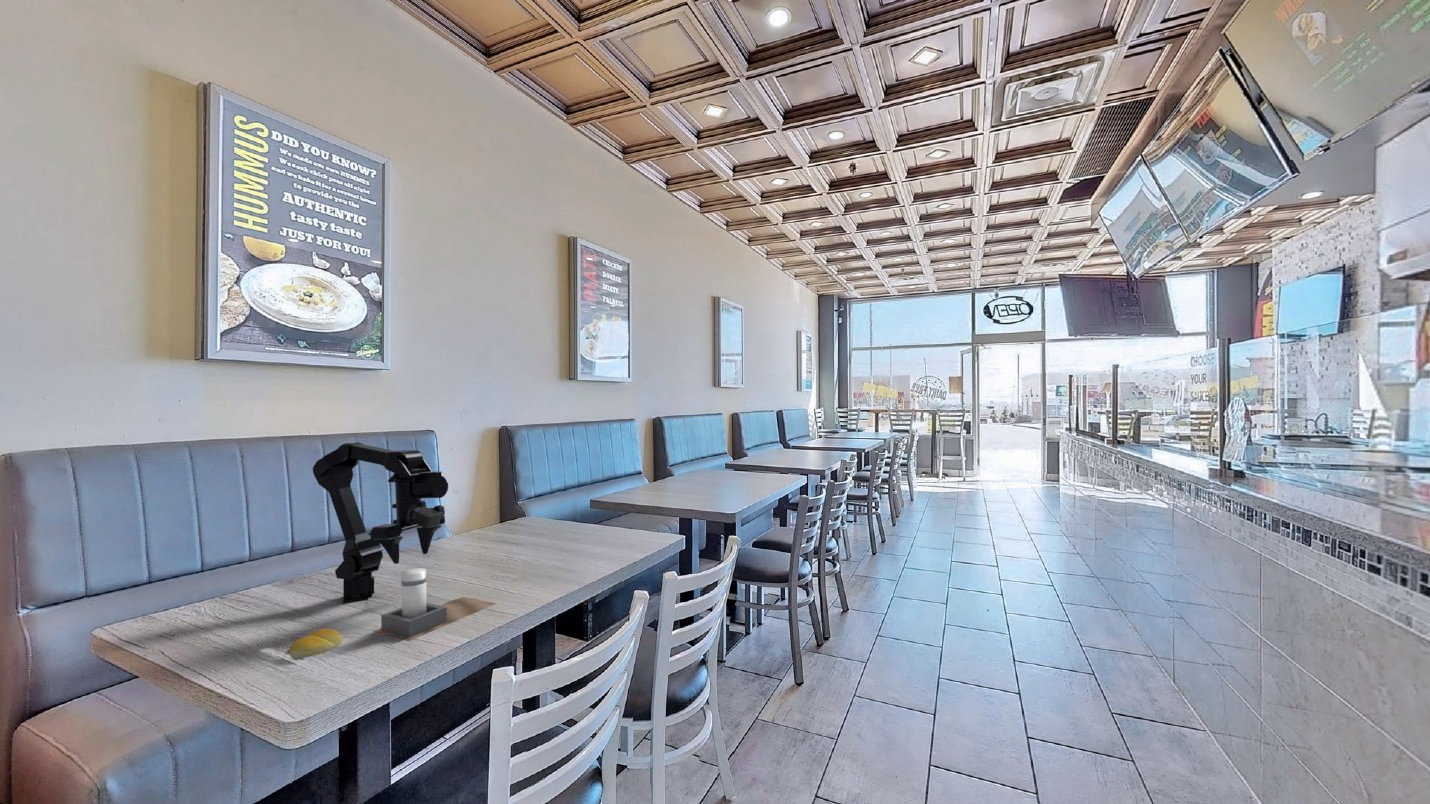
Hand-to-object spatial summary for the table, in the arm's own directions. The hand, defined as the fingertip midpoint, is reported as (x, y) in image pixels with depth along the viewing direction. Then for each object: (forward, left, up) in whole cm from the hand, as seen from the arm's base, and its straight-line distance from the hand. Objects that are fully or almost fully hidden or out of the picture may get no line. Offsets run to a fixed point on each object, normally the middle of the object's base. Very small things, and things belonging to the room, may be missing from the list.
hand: (411, 558), depth 139 cm
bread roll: (-18, -20, -12) cm, 29 cm away
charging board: (+5, -15, -12) cm, 20 cm away
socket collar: (0, -19, -11) cm, 22 cm away
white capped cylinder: (0, -18, -11) cm, 21 cm away
